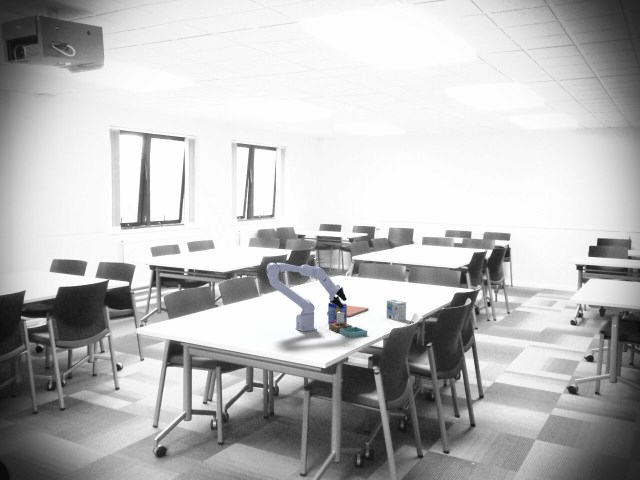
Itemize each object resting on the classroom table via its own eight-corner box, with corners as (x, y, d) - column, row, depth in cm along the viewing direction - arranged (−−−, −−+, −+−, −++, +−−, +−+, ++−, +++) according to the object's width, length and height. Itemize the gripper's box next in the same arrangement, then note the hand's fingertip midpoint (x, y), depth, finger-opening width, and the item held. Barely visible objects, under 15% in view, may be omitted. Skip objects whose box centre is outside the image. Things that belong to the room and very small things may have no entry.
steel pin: (339, 331, 306) (339, 313, 305) (335, 329, 309) (335, 311, 308) (345, 330, 308) (345, 312, 307) (341, 329, 311) (341, 311, 310)
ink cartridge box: (327, 323, 324) (327, 298, 323) (333, 322, 328) (333, 297, 327) (341, 326, 317) (341, 301, 316) (347, 324, 322) (347, 299, 321)
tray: (350, 337, 292) (350, 333, 292) (339, 333, 301) (339, 328, 301) (367, 335, 297) (367, 330, 297) (356, 331, 306) (356, 326, 306)
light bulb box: (386, 318, 341) (386, 300, 340) (394, 316, 345) (394, 299, 344) (397, 321, 332) (398, 303, 331) (406, 320, 336) (406, 302, 335)
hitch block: (337, 332, 302) (337, 327, 302) (329, 329, 310) (329, 323, 310) (351, 330, 307) (351, 325, 307) (342, 327, 315) (342, 322, 314)
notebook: (346, 307, 374) (346, 304, 374) (368, 310, 365) (368, 307, 365) (325, 314, 351) (325, 311, 351) (348, 318, 342) (348, 314, 342)
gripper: (330, 288, 302) (346, 307, 304) (337, 275, 314) (352, 294, 317) (320, 294, 305) (336, 313, 307) (328, 281, 318) (342, 299, 320)
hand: (343, 303), depth 312 cm, fingers open, 7 cm apart
